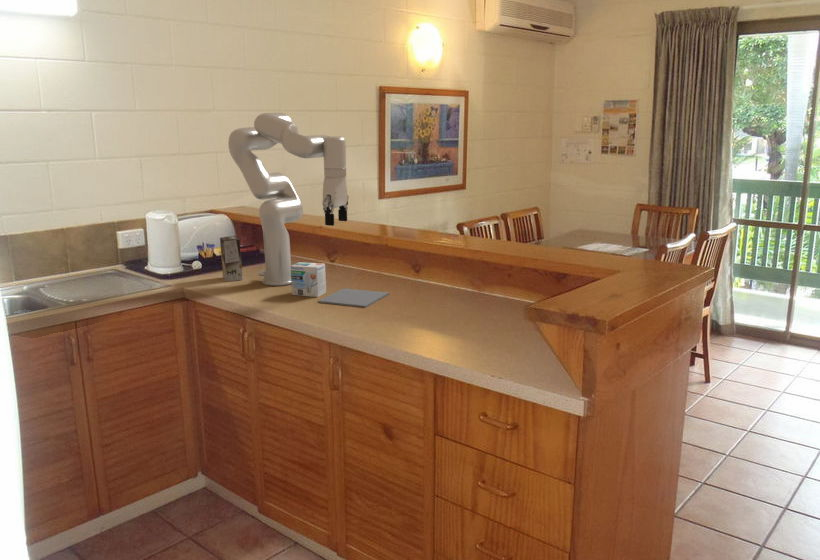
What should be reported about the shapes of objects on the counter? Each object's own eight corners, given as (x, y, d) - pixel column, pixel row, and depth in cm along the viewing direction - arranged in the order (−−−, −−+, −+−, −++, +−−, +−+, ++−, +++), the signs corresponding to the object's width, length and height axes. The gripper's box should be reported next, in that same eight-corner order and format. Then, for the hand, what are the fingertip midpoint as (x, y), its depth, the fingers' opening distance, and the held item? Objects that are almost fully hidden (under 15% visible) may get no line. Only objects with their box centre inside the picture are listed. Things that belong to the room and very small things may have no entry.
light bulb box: (291, 295, 242) (289, 265, 239) (300, 290, 248) (298, 261, 245) (318, 297, 238) (317, 267, 236) (327, 292, 245) (325, 263, 242)
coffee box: (243, 280, 265) (240, 239, 261) (226, 281, 263) (223, 240, 259) (238, 275, 273) (235, 235, 270) (222, 277, 271) (219, 237, 267)
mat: (318, 302, 232) (318, 300, 232) (343, 289, 248) (343, 288, 248) (365, 307, 225) (365, 305, 225) (388, 294, 241) (388, 292, 241)
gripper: (337, 170, 242) (338, 218, 246) (312, 175, 227) (314, 226, 231) (356, 171, 240) (357, 220, 244) (333, 176, 224) (334, 227, 228)
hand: (336, 223), depth 237 cm, fingers open, 9 cm apart
